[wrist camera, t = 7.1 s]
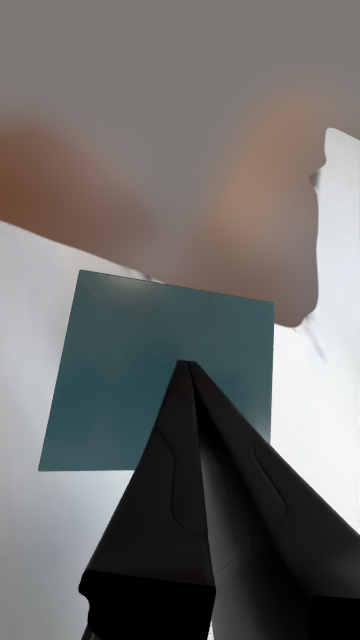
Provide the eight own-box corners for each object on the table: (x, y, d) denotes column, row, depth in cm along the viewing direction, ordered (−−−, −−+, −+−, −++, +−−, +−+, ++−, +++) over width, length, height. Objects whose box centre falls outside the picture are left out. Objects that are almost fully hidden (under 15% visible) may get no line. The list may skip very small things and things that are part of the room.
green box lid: (84, 274, 9) (78, 268, 9) (266, 305, 11) (275, 302, 11) (47, 459, 8) (36, 472, 7) (260, 459, 10) (270, 469, 9)
